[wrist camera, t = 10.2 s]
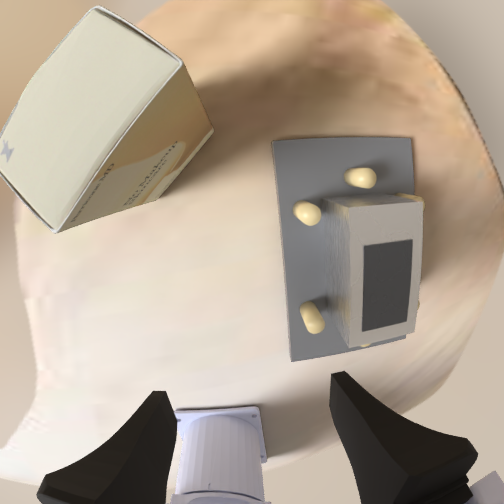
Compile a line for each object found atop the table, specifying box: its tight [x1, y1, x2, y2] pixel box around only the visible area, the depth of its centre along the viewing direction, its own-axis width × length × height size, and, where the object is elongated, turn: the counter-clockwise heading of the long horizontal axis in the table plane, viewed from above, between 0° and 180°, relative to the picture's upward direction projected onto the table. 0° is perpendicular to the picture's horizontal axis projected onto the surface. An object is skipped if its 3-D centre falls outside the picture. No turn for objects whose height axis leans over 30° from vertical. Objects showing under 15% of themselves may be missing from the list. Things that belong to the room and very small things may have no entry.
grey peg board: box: [271, 137, 425, 362], centre depth 19 cm, size 16×10×3 cm, turn 6°
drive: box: [321, 193, 423, 348], centre depth 17 cm, size 8×4×5 cm, turn 7°
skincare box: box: [0, 6, 214, 234], centre depth 12 cm, size 6×4×12 cm
